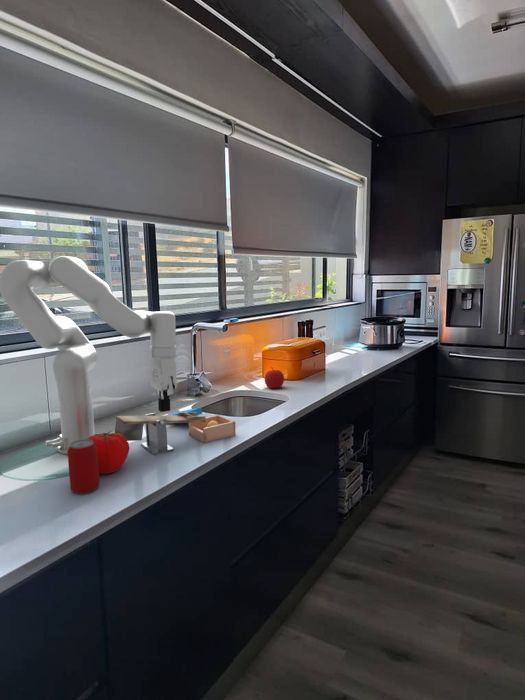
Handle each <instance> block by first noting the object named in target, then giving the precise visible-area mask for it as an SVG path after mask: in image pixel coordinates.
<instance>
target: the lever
mask: <svg viewBox="0 0 525 700" xmlns="http://www.w3.org/2000/svg"><path fill="white" fill-rule="evenodd" d="M177 412H178V415H168V414H167V415H166V414H165V415H155V416H145V415H116V417H115V427H114V433H119V434H121V435H122V436H123V437H124V438H125V439H126V440H127V442H131V441H132V442H133V441H134V442H135V441H143V434H144V433H143V432H144V425H146V424H155V423H156V421H157V420H162V419H166V424H187V423H188V424H189V423H199V422H205V419H206V416H205V415H203V416H200V415H198V416H196V412H180V411H177Z"/></svg>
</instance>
